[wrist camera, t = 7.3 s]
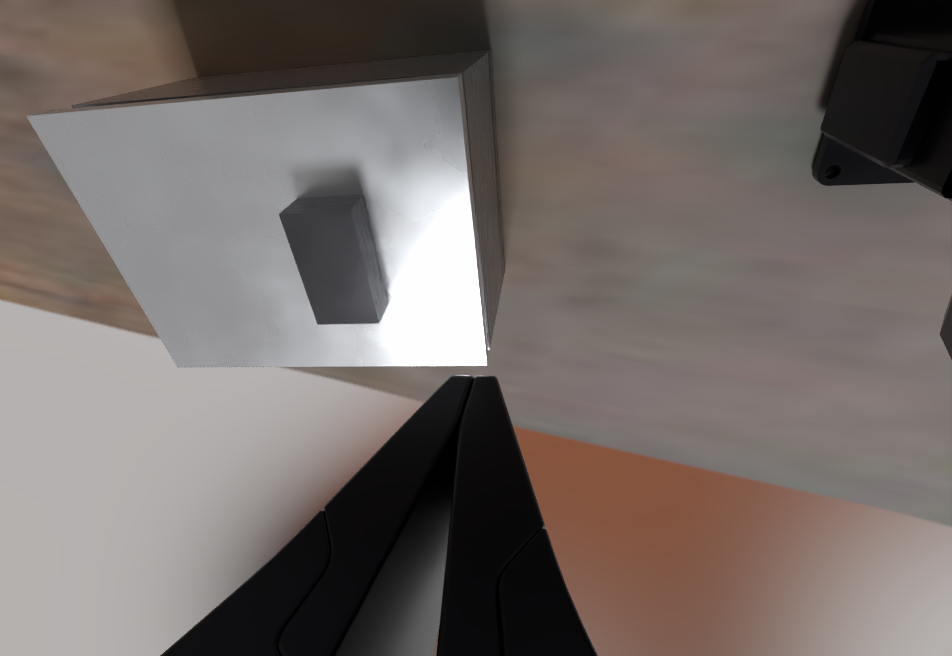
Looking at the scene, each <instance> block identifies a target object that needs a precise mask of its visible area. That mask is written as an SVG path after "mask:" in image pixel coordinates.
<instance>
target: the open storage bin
mask: <svg viewBox="0 0 952 656" xmlns="http://www.w3.org/2000/svg"><path fill="white" fill-rule="evenodd" d="M454 73H462V79H463V89H464V100H465V110H466V121H467V131H468V142H469V152H470V163H471V173H472V184H473V194H474V205H475V215H476V226H477V236H478V247H479V257H480V268H481V278H482V289H483V299H484V310H485V320H486V331H487V341H488V350H489V349H490V344H491V339H492V334H493V329H494V324H495V319H496V313H497V308H498V303H499V298H500V293H501V288H502V283H503V278H504V273H505V265H504V248H503V232H502V216H501V200H500V183H499V167H498V151H497V134H496V118H495V102H494V86H493V69H492V53H491V50H483V51H473V52H462V53H451V54H440V55H430V56H419V57H408V58H397V59H387V60H376V61H365V62H355V63H344V64H333V65H322V66H312V67H301V68H290V69H279V70H269V71H258V72H247V73H236V74H226V75H215V76H204V77H196V78H191V79H187V80H183V81H178V82H174V83H169V84H165V85H161V86H156V87H152V88H147V89H143V90H139V91H134V92H130V93H125V94H121V95H117V96H112V97H108V98H103V99H99V100H95V101H90V102H86V103H81V104H77V105H72V108H82V107H93V106H104V105H115V104H126V103H137V102H148V101H159V100H170V99H181V98H191V97H202V96H213V95H224V94H235V93H246V92H257V91H268V90H279V89H290V88H301V87H312V86H323V85H334V84H345V83H356V82H366V81H377V80H388V79H399V78H410V77H421V76H432V75H443V74H454Z"/></svg>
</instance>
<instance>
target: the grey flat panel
mask: <svg viewBox="0 0 952 656" xmlns="http://www.w3.org/2000/svg"><path fill="white" fill-rule="evenodd" d="M27 118H28V119H29V121H30V123H31V124H32V126H33V128H34V129H35V131H36V133H37V134H38V136H39V138H40V139H41V141H42V143H43V144H44V146H45V148H46V149H47V151H48V153H49V154H50V156H51V158H52V159H53V161H54V163H55V164H56V166H57V168H58V169H59V171H60V173H61V174H62V176H63V178H64V179H65V181H66V183H67V184H68V186H69V188H70V189H71V191H72V193H73V194H74V196H75V198H76V199H77V201H78V203H79V204H80V206H81V208H82V209H83V211H84V213H85V214H86V216H87V218H88V219H89V221H90V222H91V224H92V226H93V227H94V229H95V231H96V232H97V234H98V236H99V237H100V239H101V241H102V242H103V244H104V246H105V247H106V249H107V251H108V252H109V254H110V256H111V257H112V259H113V261H114V262H115V264H116V266H117V267H118V269H119V271H120V272H121V274H122V276H123V277H124V279H125V281H126V282H127V284H128V286H129V287H130V289H131V291H132V292H133V294H134V296H135V297H136V299H137V301H138V302H139V304H140V306H141V307H142V309H143V311H144V312H145V314H146V316H147V317H148V319H149V321H150V322H151V324H152V326H153V327H154V329H155V330H156V332H157V334H158V335H159V337H160V339H161V340H162V342H163V344H164V345H165V347H166V349H167V350H168V352H169V354H170V355H171V357H172V359H173V360H174V362H175V364H176V365H177V367H319V366H471V365H487V359H488V341H487V331H486V320H485V310H484V299H483V289H482V278H481V268H480V257H479V247H478V236H477V226H476V215H475V205H474V194H473V184H472V173H471V163H470V152H469V142H468V131H467V121H466V110H465V100H464V89H463V79H462V73H454V74H443V75H432V76H421V77H410V78H399V79H388V80H377V81H366V82H356V83H345V84H334V85H323V86H312V87H301V88H290V89H279V90H268V91H257V92H246V93H235V94H224V95H213V96H202V97H191V98H181V99H170V100H159V101H148V102H137V103H126V104H115V105H104V106H93V107H82V108H71V109H60V110H50V111H46V112H42V113H38V114H33V115H29V116H27Z"/></svg>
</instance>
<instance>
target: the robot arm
mask: <svg viewBox="0 0 952 656" xmlns="http://www.w3.org/2000/svg"><path fill="white" fill-rule="evenodd" d="M821 131H822V132H823V133H824V136H823V139H822V142H821V146H820V149H819V152H818V155H817V158H816V161H815V164H814V167H813V172H812V175H813V177H814V179H815V180H817V181H818V182H819V183H821V184H822V185H827V186H832V185H859V184H885V183H912V182H916V183H918V184H920V185H921V186H923V187H925V188H927V189H929V190H931V191H933V192H935V193H937V194H939V195H940V196H942V197H944V198H946V199H948V200H950V201H952V0H868V1H867V4H866V7H865V10H864V13H863V16H862V19H861V22H860V25H859V28H858V31H857V34H856V38H855V41H854V42H853V43H852V44H851V45H850V46H849V47H848V48H847V49H846V50H845V53H844V56H843V59H842V62H841V65H840V68H839V71H838V75H837V78H836V81H835V84H834V87H833V90H832V94H831V97H830V100H829V103H828V106H827V109H826V112H825V116H824V119H823V122H822V125H821ZM832 165H836V169H835V170H834V172H833V173H831V174H830V175H826V176H825V171H826V170H827V168H829V167H830V166H832ZM940 336H941V338H942V340H943V342H944V344H945V346H946V348H947V351H948V353H949V355H950V357H951V359H952V295H951V298H950V301H949V304H948V307H947V310H946V313H945V316H944V320H943V324H942V328H941V331H940ZM439 624H440V625H439ZM438 628H439V635H438V646H437V656H597V653H596V651H595V649H594V647H593V645H592V643H591V641H590V639H589V636H588V634H587V632H586V630H585V628H584V626H583V623H582V621H581V619H580V617H579V614H578V612H577V610H576V608H575V605H574V603H573V601H572V598H571V596H570V594H569V592H568V589H567V587H566V584H565V581H564V579H563V576H562V573H561V570H560V567H559V565H558V562H557V559H556V557H555V554H554V551H553V548H552V545H551V542H550V539H549V535H548V532H547V530H546V529H545V524H544V521H543V518H542V515H541V512H540V509H539V505H538V502H537V499H536V496H535V493H534V490H533V487H532V484H531V481H530V478H529V475H528V472H527V468H526V466H525V462H524V459H523V456H522V453H521V450H520V447H519V444H518V441H517V438H516V435H515V432H514V429H513V425H512V422H511V419H510V416H509V413H508V410H507V407H506V404H505V401H504V398H503V395H502V392H501V389H500V385H499V382H498V379H497V378H496V377H495V376H476V377H475V378H474V377H472V376H470V375H452V376H451V377H449V378H448V379H447V380H446V381H445V382H444V383H443V384H442V386H441V387H440V388H439V389H438V390H437V391H436V392H435V393H434V394H433V395H432V396H431V397H430V398H429V399H428V400H427V401H426V402H425V403H424V404H423V405H422V406H421V407H420V408H419V409H418V410H417V411H416V412H415V413H414V414H413V416H412V417H411V418H409V419H408V420H407V422H406V423H405V424H404V425H403V426H402V427H401V428H400V429H399V430H398V431H397V432H396V433H395V434H394V435H393V436H392V437H391V438H390V439H389V440H388V441H387V442H386V443H385V444H384V445H383V446H382V447H381V448H380V449H379V450H378V451H377V452H376V453H375V454H374V456H373V457H371V459H370V460H369V461H368V462H367V463H366V464H365V465H364V466H363V467H362V468H361V469H360V470H359V471H358V472H357V473H356V474H355V475H354V476H353V477H352V478H351V479H350V480H349V481H348V482H347V483H346V484H345V485H344V486H343V487H342V488H341V489H340V490H339V491H338V492H337V493H336V494H335V495H334V496H333V497H332V499H331V500H330V501H329V502H328V503H327V504H326V505H325V506H324V511H323V510H320V511H319V512H318V513H317V514H316V515H315V516H314V517H313V518H312V519H311V520H310V521H309V522H308V523H307V524H306V525H305V526H304V527H303V528H302V529H301V530H300V531H299V532H298V533H297V534H296V535H295V536H294V537H293V538H292V539H291V540H290V541H289V542H288V543H287V544H286V545H285V546H284V547H283V548H282V549H281V550H280V551H279V552H278V553H277V554H276V555H274V556H273V557H272V558H271V559H270V560H269V561H268V562H267V563H266V564H265V565H263V566H262V567H261V568H260V569H259V570H258V571H257V572H256V573H255V574H253V575H252V576H251V577H250V578H249V579H248V580H247V581H246V582H245V583H243V584H242V585H241V586H240V587H239V588H238V589H237V590H235V591H234V592H233V593H232V594H231V595H230V596H229V597H227V599H225V600H224V601H223V602H222V603H220V604H219V605H218V606H217V607H216V608H215V609H214V610H212V611H211V612H210V613H209V614H208V615H207V616H205V617H204V618H203V619H202V620H201V621H200V622H199V623H197V624H196V625H195V626H194V627H193V628H192V629H190V630H189V631H188V632H187V633H186V634H185V635H184V636H182V637H181V638H180V639H179V640H178V641H177V642H175V643H174V644H173V645H172V646H171V647H170V648H169V649H167V650H166V651H165V652H164V653H163V654H162V655H160V656H432V654H433V649H434V645H435V641H436V637H437V632H438Z"/></svg>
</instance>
